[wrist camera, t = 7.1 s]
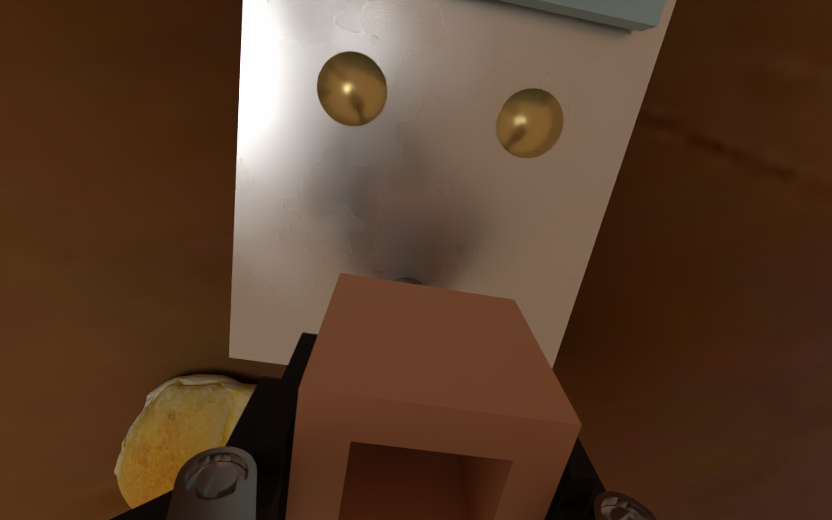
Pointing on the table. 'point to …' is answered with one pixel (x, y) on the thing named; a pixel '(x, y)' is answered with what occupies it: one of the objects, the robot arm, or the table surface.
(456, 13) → the base
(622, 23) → the cover
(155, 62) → the table surface
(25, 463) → the table surface
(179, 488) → the robot arm
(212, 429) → the bread roll
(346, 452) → the block
